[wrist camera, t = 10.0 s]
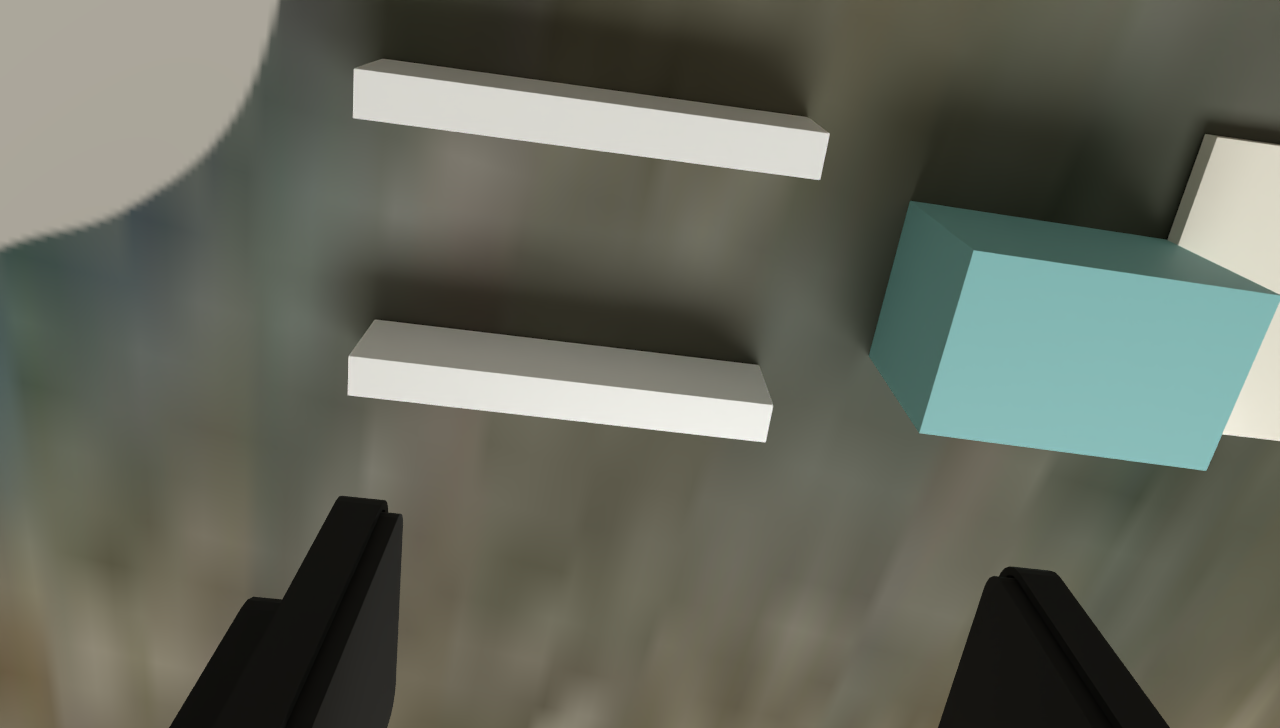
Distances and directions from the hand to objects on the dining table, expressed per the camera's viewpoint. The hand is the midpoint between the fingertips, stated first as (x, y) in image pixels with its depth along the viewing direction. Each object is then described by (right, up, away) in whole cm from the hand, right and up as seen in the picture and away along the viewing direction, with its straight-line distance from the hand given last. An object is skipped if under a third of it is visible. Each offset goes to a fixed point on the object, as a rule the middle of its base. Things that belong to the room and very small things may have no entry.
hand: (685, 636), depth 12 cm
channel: (-2, +7, +16) cm, 18 cm away
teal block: (+11, +5, +17) cm, 21 cm away
